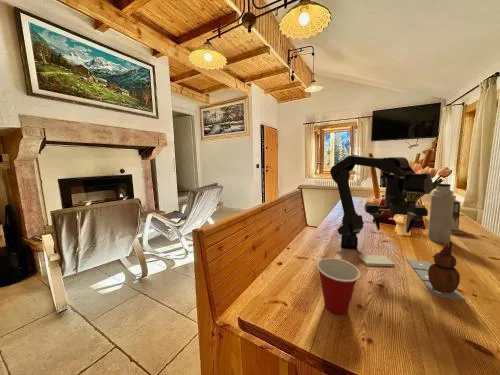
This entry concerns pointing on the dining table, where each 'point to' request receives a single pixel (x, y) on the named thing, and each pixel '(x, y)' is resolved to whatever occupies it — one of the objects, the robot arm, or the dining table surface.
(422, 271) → the pad
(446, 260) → the wooden figurine
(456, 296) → the pad
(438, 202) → the thermos bottle
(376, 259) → the folded napkin
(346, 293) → the plastic cup
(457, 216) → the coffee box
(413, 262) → the pad
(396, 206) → the robot arm
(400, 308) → the dining table surface
